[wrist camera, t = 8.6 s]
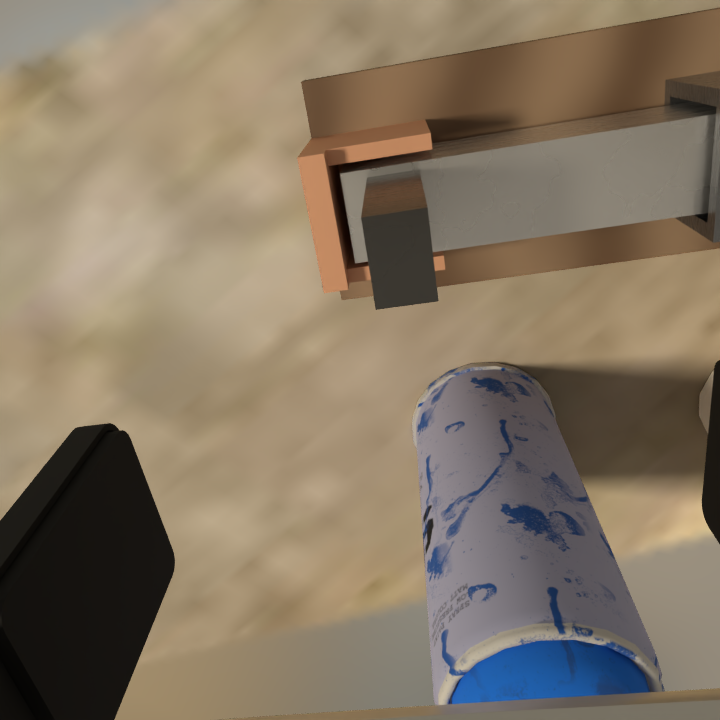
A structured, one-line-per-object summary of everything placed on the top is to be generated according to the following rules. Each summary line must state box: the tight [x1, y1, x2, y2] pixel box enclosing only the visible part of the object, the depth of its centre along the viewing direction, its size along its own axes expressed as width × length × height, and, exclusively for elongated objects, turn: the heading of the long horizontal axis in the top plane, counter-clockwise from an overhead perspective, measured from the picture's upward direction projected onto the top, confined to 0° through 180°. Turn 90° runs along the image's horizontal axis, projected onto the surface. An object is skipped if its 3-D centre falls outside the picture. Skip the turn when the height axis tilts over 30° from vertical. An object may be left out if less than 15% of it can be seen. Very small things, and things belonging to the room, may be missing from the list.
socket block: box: [297, 120, 445, 293], centre depth 27 cm, size 5×5×5 cm
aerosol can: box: [412, 362, 665, 705], centre depth 27 cm, size 8×8×20 cm
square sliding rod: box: [340, 102, 716, 310], centre depth 24 cm, size 16×4×10 cm, turn 99°
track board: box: [301, 8, 720, 300], centre depth 29 cm, size 27×10×1 cm, turn 99°
